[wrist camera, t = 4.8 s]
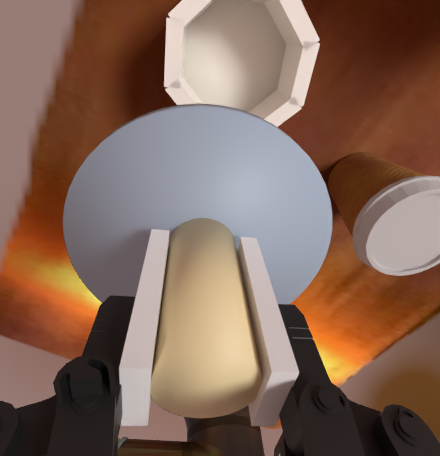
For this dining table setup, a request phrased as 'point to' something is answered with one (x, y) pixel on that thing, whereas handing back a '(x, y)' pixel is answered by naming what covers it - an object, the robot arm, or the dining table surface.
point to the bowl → (241, 55)
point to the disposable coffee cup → (388, 213)
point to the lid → (199, 238)
